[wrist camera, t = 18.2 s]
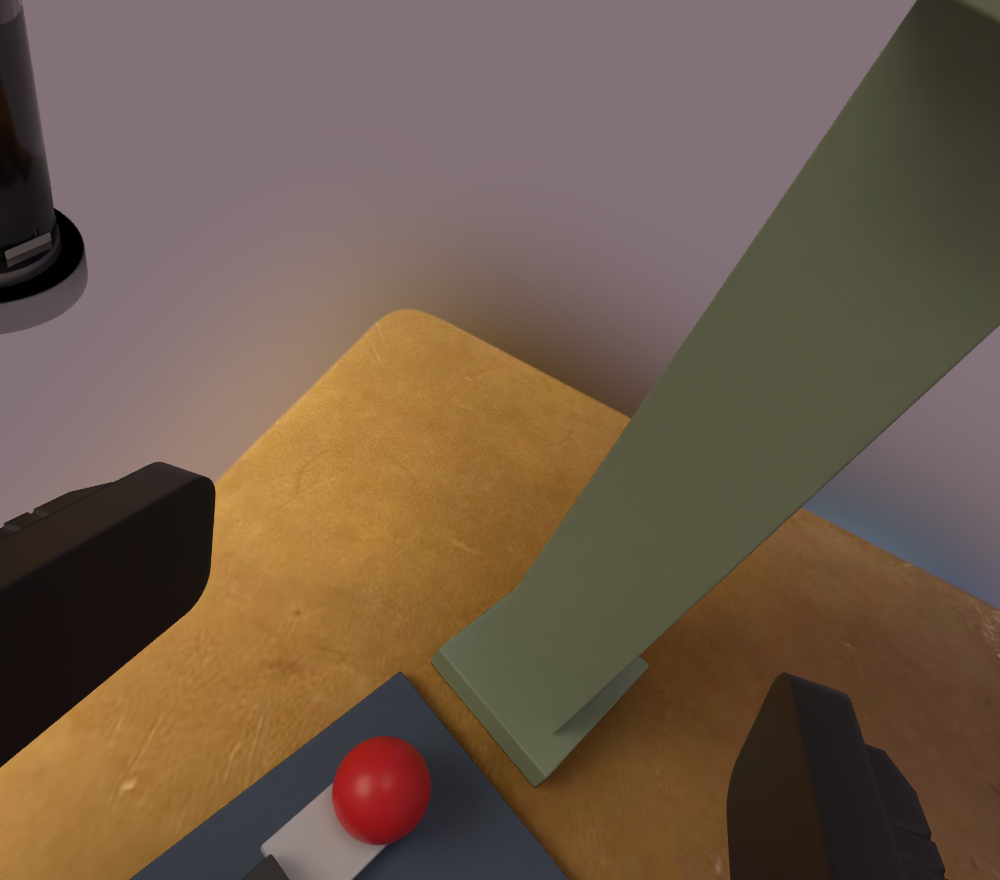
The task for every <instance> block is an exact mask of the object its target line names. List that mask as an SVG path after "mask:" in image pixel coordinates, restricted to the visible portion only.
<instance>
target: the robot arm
mask: <svg viewBox="0 0 1000 880" xmlns="http://www.w3.org/2000/svg"><path fill="white" fill-rule="evenodd" d="M52 201H53V200H52V194H51V186H50V178H49V172H48V166H47V159H46V153H45V146H44V140H43V133H42V127H41V121H40V114H39V108H38V102H37V95H36V89H35V82H34V75H33V69H32V62H31V56H30V50H29V44H28V37H27V30H26V24H25V18H24V11H23V5H22V0H0V288H2V287H7V286H11V285H15V284H18V283H22V282H24V281H27V280H30V279H32V278H34V277H36V276H38V275H39V274H41V273H43V272H44V271H45V270H47V269H48V268H49V267H50V266H51V265H52V264H53V263H54V262H55V261H56V259H57V258H58V256H59V253H60V250H61V240H60V233H59V227H58V224H57V221H56V216H55V213H54V208H53V202H52ZM214 511H215V487H214V484H213V482H212V480H210V479H209V478H207V477H204V476H201V475H199V474H196V473H193V472H190V471H187V470H184V469H181V468H178V467H175V466H172V465H169V464H166V463H163V462H155V463H152V464H150V465H147V466H145V467H143V468H142V469H140V470H138V471H135V472H133V473H131V474H129V475H127V476H125V477H123V478H121V479H120V480H118V481H115V482H111V483H106V484H102V485H98V486H94V487H89V488H85V489H80V490H76V491H72V492H69V493H66V494H64V495H62V496H60V497H58V498H56V499H54V500H52V501H50V502H48V503H45V504H43V505H41V506H39V507H37V508H35V509H34V511H33V513H32V514H30V513H28V512H27V513H24V514H22V515H20V516H18V517H16V518H14V519H12V520H10V521H8V522H6V523H4V526H3V527H2V528H0V767H2V766H3V765H4V764H5V763H6V762H8V761H9V760H10V759H11V758H12V757H14V756H15V755H16V754H17V753H19V752H20V751H21V750H22V749H23V748H25V747H26V746H27V745H28V744H29V743H31V742H32V741H33V740H34V739H35V738H37V737H38V736H39V735H40V734H41V733H43V732H44V731H45V730H46V729H48V728H49V727H50V726H51V725H52V724H54V723H55V722H56V721H57V720H58V719H60V718H61V717H62V716H63V715H64V714H66V713H67V712H68V711H69V710H70V709H72V708H73V707H74V706H75V705H77V704H78V703H79V702H80V701H81V700H83V699H84V698H85V697H86V696H87V695H89V694H90V693H91V692H92V691H93V690H95V689H96V688H97V687H98V686H99V685H101V684H102V683H103V682H104V681H106V680H107V679H108V678H109V677H110V676H112V675H113V674H114V673H115V672H116V671H118V670H119V669H120V668H121V667H122V666H124V665H125V664H126V663H127V662H128V661H130V660H131V659H132V658H133V657H135V656H136V655H137V654H138V653H139V652H141V651H142V650H143V649H144V648H145V647H147V646H148V645H149V644H150V643H151V642H153V641H154V640H155V639H156V638H157V637H159V636H160V635H161V634H162V633H164V632H165V631H166V630H167V629H168V628H170V627H171V626H172V625H173V624H174V623H176V622H177V621H178V620H179V619H180V618H182V617H183V616H184V615H185V614H186V613H188V612H189V611H190V610H191V609H192V608H193V606H194V605H195V604H196V603H197V601H198V600H199V598H200V597H201V595H202V593H203V591H204V589H205V587H206V584H207V582H208V579H209V574H210V568H211V554H212V540H213V525H214ZM727 829H728V846H729V862H730V879H731V880H948V879H945V877H944V873H945V868H944V865H943V863H942V860H941V857H940V855H939V852H938V849H937V847H936V844H935V842H932V841H931V839H930V838H931V831H930V828H929V826H928V823H927V820H926V818H925V815H924V813H923V810H922V807H921V805H920V802H919V799H918V797H917V794H916V792H915V790H914V789H913V788H912V786H911V785H910V784H909V783H908V781H907V780H906V779H905V777H904V776H903V775H902V773H901V772H900V771H899V769H898V768H897V767H896V766H895V764H894V763H893V762H892V760H891V759H890V758H889V756H888V755H887V754H886V752H885V751H883V750H881V749H878V748H875V747H872V746H869V745H866V744H865V743H864V740H863V737H862V734H861V731H860V728H859V724H858V721H857V718H856V715H855V712H854V709H853V706H852V703H851V700H850V698H849V697H848V695H847V694H846V693H844V692H841V691H838V690H835V689H832V688H829V687H826V686H823V685H820V684H817V683H814V682H811V681H808V680H806V679H803V678H800V677H797V676H794V675H791V674H788V673H781V674H780V675H778V677H777V678H776V679H775V681H774V682H773V684H772V686H771V688H770V690H769V692H768V694H767V696H766V698H765V701H764V703H763V705H762V707H761V709H760V711H759V713H758V715H757V718H756V720H755V722H754V724H753V726H752V728H751V730H750V732H749V735H748V737H747V739H746V741H745V743H744V745H743V747H742V749H741V751H740V754H739V756H738V758H737V760H736V763H735V765H734V768H733V772H732V775H731V779H730V784H729V789H728V796H727Z"/></svg>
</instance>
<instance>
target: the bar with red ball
mask: <svg viewBox="0 0 1000 880" xmlns="http://www.w3.org/2000/svg"><path fill="white" fill-rule="evenodd" d="M430 795H431V778H430V773H429V769H428V767H427V764H426V762H425V760H424V758H423V756H422V755H421V754H420V752H419V751H418V750H417V749H416V748H415V747H414V746H413V745H411V744H410V743H408V742H407V741H405V740H403V739H400V738H397V737H392V736H378V737H373V738H370V739H368V740H365V741H363V742H362V743H360V744H358V745H357V746H355V747H354V748H353V749H352V750H351V751H350V752H349V753H348V754H347V755H346V756H345V758H344V759H343V760H342V762H341V764H340V765H339V767H338V770H337V772H336V775H335V778H334V782H333V783H332V784H331V785H330V786H329V787H328V788H326V789H325V790H324V791H323V792H322V793H321V794H320V795H318V796H317V797H316V798H315V799H314V800H313V801H312V802H310V803H309V804H308V805H307V806H306V807H305V808H304V809H302V810H301V811H300V812H299V813H298V814H297V815H296V816H294V817H293V818H292V819H291V820H290V821H289V822H288V823H287V824H285V825H284V826H283V827H282V828H281V829H280V830H279V831H277V832H276V833H275V834H274V835H273V836H272V837H271V838H269V839H268V840H267V841H266V842H265V843H264V844H263V845H262V846H261V852H262V853H263V855H264V856H265V857H266V858H265V859H264V860H263V861H262V862H260V863H259V864H258V865H257V866H256V867H255V868H254V869H253V870H251V871H250V872H249V873H248V874H247V875H246V876H245V877H244V878H243V879H241V880H353V879H354V878H355V877H356V876H357V875H358V874H359V873H360V872H361V871H362V870H363V869H364V868H365V867H366V866H367V865H368V864H369V863H370V862H371V861H372V860H373V859H374V858H375V857H376V856H377V855H378V854H379V853H380V852H381V851H382V850H383V849H384V848H385V847H386V846H387V845H388V844H390V843H394V842H396V841H398V840H400V839H402V838H404V837H405V836H406V835H408V834H409V833H410V832H411V831H413V830H414V829H415V827H416V826H417V825H418V824H419V822H420V821H421V819H422V818H423V816H424V814H425V812H426V810H427V807H428V804H429V800H430Z"/></svg>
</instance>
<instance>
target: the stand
mask: <svg viewBox="0 0 1000 880" xmlns="http://www.w3.org/2000/svg"><path fill="white" fill-rule="evenodd" d="M999 325H1000V0H917V1H916V3H915V4H914V5H913V7H912V8H911V10H910V11H909V13H908V14H907V15H906V17H905V18H904V20H903V21H902V23H901V24H900V26H899V27H898V29H897V30H896V32H895V33H894V35H893V36H892V37H891V39H890V41H889V42H888V43H887V45H886V46H885V48H884V49H883V51H882V52H881V54H880V55H879V57H878V58H877V60H876V61H875V62H874V64H873V66H872V67H871V69H870V70H869V71H868V73H867V74H866V76H865V77H864V79H863V80H862V82H861V83H860V84H859V86H858V87H857V89H856V90H855V92H854V93H853V95H852V96H851V98H850V99H849V101H848V102H847V104H846V105H845V106H844V108H843V109H842V111H841V112H840V114H839V115H838V117H837V118H836V120H835V121H834V123H833V124H832V126H831V127H830V129H829V130H828V131H827V133H826V134H825V136H824V137H823V139H822V140H821V142H820V143H819V145H818V146H817V148H816V149H815V150H814V152H813V153H812V155H811V156H810V158H809V159H808V161H807V162H806V164H805V165H804V167H803V168H802V170H801V171H800V173H799V174H798V175H797V177H796V178H795V180H794V181H793V183H792V184H791V186H790V187H789V189H788V190H787V192H786V193H785V195H784V196H783V198H782V199H781V200H780V202H779V203H778V205H777V206H776V208H775V209H774V211H773V212H772V214H771V215H770V217H769V218H768V219H767V221H766V222H765V224H764V226H763V227H762V228H761V230H760V231H759V233H758V234H757V236H756V237H755V239H754V240H753V242H752V243H751V245H750V246H749V247H748V249H747V250H746V252H745V253H744V255H743V256H742V258H741V259H740V261H739V262H738V264H737V265H736V266H735V268H734V269H733V271H732V272H731V274H730V276H729V277H728V278H727V280H726V281H725V283H724V284H723V286H722V287H721V289H720V290H719V291H718V293H717V294H716V296H715V298H714V299H713V300H712V302H711V303H710V305H709V306H708V308H707V309H706V310H705V312H704V314H703V315H702V316H701V318H700V319H699V321H698V322H697V324H696V325H695V327H694V328H693V330H692V331H691V333H690V334H689V335H688V337H687V338H686V340H685V342H684V343H683V344H682V346H681V347H680V349H679V350H678V352H677V353H676V355H675V356H674V357H673V359H672V360H671V362H670V363H669V365H668V367H667V368H666V369H665V371H664V372H663V374H662V375H661V377H660V378H659V379H658V381H657V382H656V384H655V385H654V387H653V388H652V390H651V391H650V393H649V394H648V396H647V397H646V399H645V400H644V401H643V403H642V405H641V406H640V407H639V409H638V410H637V412H636V413H635V415H634V416H633V418H632V419H631V421H630V422H629V424H628V425H627V426H626V428H625V429H624V431H623V432H622V434H621V435H620V437H619V438H618V440H617V441H616V443H615V444H614V446H613V447H612V448H611V450H610V451H609V453H608V454H607V456H606V457H605V459H604V460H603V462H602V463H601V465H600V466H599V468H598V469H597V470H596V472H595V473H594V475H593V476H592V478H591V479H590V481H589V482H588V484H587V485H586V487H585V488H584V490H583V491H582V493H581V494H580V495H579V497H578V498H577V500H576V501H575V503H574V504H573V506H572V507H571V509H570V510H569V512H568V513H567V515H566V516H565V517H564V519H563V520H562V522H561V523H560V525H559V526H558V528H557V529H556V531H555V532H554V534H553V535H552V537H551V538H550V539H549V541H548V542H547V544H546V545H545V547H544V548H543V550H542V551H541V553H540V554H539V556H538V557H537V559H536V560H535V561H534V563H533V564H532V566H531V567H530V569H529V570H528V572H527V573H526V575H525V576H524V578H523V579H522V581H521V582H520V584H519V585H518V586H517V588H515V589H514V590H513V591H511V592H510V593H509V594H508V595H506V596H505V597H504V598H502V599H501V600H500V601H499V602H497V603H496V604H495V605H493V606H492V607H491V608H490V609H488V610H487V611H486V612H484V613H483V614H482V615H481V616H479V617H478V618H477V619H475V620H474V621H473V622H472V623H470V624H469V625H468V626H466V627H465V628H464V629H463V630H461V631H460V632H459V633H457V634H456V635H455V636H454V637H452V638H451V639H450V640H448V641H447V642H446V643H445V644H443V645H442V646H441V647H439V648H438V650H437V652H436V653H435V655H434V657H433V659H432V660H431V663H432V665H433V666H434V667H435V668H436V670H437V671H438V672H439V673H440V674H441V676H442V677H443V678H444V679H445V680H446V682H447V683H448V684H449V685H450V686H451V688H452V689H453V690H454V691H455V692H456V694H457V695H458V696H459V697H460V699H461V700H462V701H463V702H464V703H465V705H466V706H467V707H468V708H469V709H470V711H471V712H472V713H473V714H474V715H475V717H476V718H477V719H478V720H479V721H480V723H481V724H482V725H483V726H484V728H485V729H486V730H487V731H488V732H489V734H490V735H491V736H492V737H493V738H494V740H495V741H496V742H497V743H498V744H499V746H500V747H501V748H502V749H503V750H504V752H505V753H506V754H507V755H508V757H509V758H510V759H511V760H512V761H513V763H514V764H515V765H516V766H517V767H518V769H519V770H520V771H521V772H522V773H523V775H524V776H525V777H526V778H527V779H528V781H529V782H530V783H531V784H532V785H533V787H537V786H538V785H539V784H540V783H542V782H543V781H544V780H545V779H547V778H548V777H549V776H550V774H551V773H552V772H553V771H554V770H555V769H556V768H557V767H558V766H559V765H560V763H561V762H562V761H563V760H564V759H565V758H566V757H567V756H568V755H569V754H570V753H571V751H572V750H573V749H574V748H575V747H576V746H577V745H578V744H579V743H580V742H581V740H582V739H583V738H584V737H585V736H586V735H587V734H588V733H589V732H590V731H591V730H592V728H593V727H594V726H595V725H596V724H597V723H598V722H599V721H600V720H601V719H602V717H603V716H604V715H605V714H606V713H607V712H608V711H609V710H610V709H611V708H612V707H613V705H614V704H615V703H616V702H617V701H618V700H619V699H620V698H621V697H622V696H623V694H624V693H625V692H626V691H627V690H628V689H629V688H630V687H631V686H632V685H633V684H634V682H635V681H636V680H637V679H638V678H639V677H640V676H641V675H642V674H643V673H644V671H645V670H646V669H647V668H648V667H649V665H648V664H647V663H646V662H645V661H644V660H643V659H642V658H641V657H640V655H641V654H642V653H643V652H644V651H645V650H646V649H647V648H648V647H649V646H651V645H652V644H653V643H654V642H655V641H656V640H657V639H658V638H659V637H660V636H661V635H663V634H664V633H665V632H666V631H667V630H668V629H669V628H670V627H671V626H672V625H673V624H675V623H676V622H677V621H678V620H679V619H680V618H681V617H682V616H683V615H684V614H685V613H686V612H688V611H689V610H690V609H691V608H692V607H693V606H694V605H695V604H696V603H697V602H698V601H700V600H701V599H702V598H703V597H704V596H705V595H706V594H707V593H708V592H709V591H710V590H712V589H713V588H714V587H715V586H716V585H717V584H718V583H719V582H720V581H721V580H722V579H724V578H725V577H726V576H727V575H728V574H729V573H730V572H731V571H732V570H733V569H734V568H736V567H737V566H738V565H739V564H740V563H741V562H742V561H743V560H744V559H745V558H746V557H747V556H749V555H750V554H751V553H752V552H753V551H754V550H755V549H756V548H757V547H758V546H759V545H761V544H762V543H763V542H764V541H765V540H766V539H767V538H768V537H769V536H770V535H771V534H773V533H774V532H775V531H776V530H777V529H778V528H779V527H780V526H781V525H782V524H783V523H785V522H786V521H787V520H788V519H789V518H790V517H791V516H792V515H793V514H794V513H795V512H797V511H798V510H799V509H800V508H801V507H802V506H803V505H804V504H805V503H806V502H807V501H808V500H810V499H811V498H812V497H813V496H814V495H815V494H816V493H817V492H818V491H819V490H820V489H821V488H822V487H824V486H825V485H826V484H827V483H828V482H829V481H830V480H831V479H832V478H834V477H835V476H836V475H837V474H838V473H839V472H840V471H841V470H842V469H843V468H844V467H846V466H847V465H848V464H849V463H850V462H851V461H852V460H853V459H854V458H855V457H856V456H857V455H859V453H861V452H862V451H863V450H864V449H865V448H866V447H867V446H868V445H869V444H871V443H872V442H873V441H874V440H875V439H876V438H877V437H878V436H879V435H880V434H881V433H882V432H884V431H885V430H886V429H887V428H888V427H889V426H890V425H891V424H892V423H893V422H895V421H896V420H897V419H898V418H899V417H900V416H901V415H902V414H903V413H904V412H905V411H906V410H908V409H909V408H910V407H911V406H912V405H913V404H914V403H915V402H916V401H917V400H918V399H920V398H921V397H922V396H923V395H924V394H925V393H926V392H927V391H928V390H929V389H930V388H932V387H933V386H934V385H935V384H936V383H937V382H938V381H939V380H940V379H941V378H942V377H944V376H945V375H946V374H947V373H948V372H949V371H950V370H951V369H952V368H953V367H954V366H956V365H957V364H958V363H959V362H960V361H961V360H962V359H963V358H964V357H965V356H966V355H968V353H970V352H971V351H972V350H973V349H974V348H975V347H976V346H977V345H978V344H979V343H981V342H982V341H983V340H984V339H985V338H986V337H987V336H988V335H989V334H990V333H991V332H993V330H995V329H996V328H997V327H998V326H999Z"/></svg>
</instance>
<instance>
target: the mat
mask: <svg viewBox="0 0 1000 880" xmlns="http://www.w3.org/2000/svg"><path fill="white" fill-rule="evenodd" d="M378 736H392V737H397V738H400V739H403V740H405V741H407V742H408V743H410V744H411V745H413V746H414V747H415V748H416V749H417V750H418V751H419V752H420V754H421V755H422V756H423V758H424V760H425V762H426V764H427V767H428V769H429V773H430V778H431V795H430V800H429V804H428V807H427V810H426V812H425V814H424V816H423V818H422V819H421V821H420V822H419V824H418V825H417V826H416V827H415V829H414V830H413V831H411V832H410V833H409V834H408V835H406V836H405V837H404V838H402V839H400V840H398V841H396V842H394V843H390V844H388V845H387V846H386V847H385V848H384V849H383V850H382V851H381V852H380V853H379V854H378V855H377V856H376V857H375V858H374V859H373V860H372V861H371V862H370V863H369V864H368V865H367V866H366V867H365V868H364V869H363V870H362V871H361V872H360V873H359V874H358V875H357V876H356V877H355V878H354V879H353V880H569V879H568V878H567V877H566V875H565V874H564V873H563V872H562V870H561V869H560V868H559V867H558V865H557V864H556V863H555V862H554V861H553V859H552V858H551V857H550V856H549V854H548V853H547V852H546V851H545V849H544V848H543V847H542V846H541V844H540V843H539V842H538V841H537V839H536V838H535V837H534V836H533V834H532V833H531V832H530V831H529V830H528V828H527V827H526V826H525V825H524V823H523V822H522V821H521V820H520V818H519V817H518V816H517V815H516V813H515V812H514V811H513V810H512V808H511V807H510V806H509V805H508V803H507V802H506V801H505V800H504V799H503V797H502V796H501V795H500V794H499V792H498V791H497V790H496V789H495V787H494V786H493V785H492V784H491V782H490V781H489V780H488V779H487V777H486V776H485V775H484V774H483V772H482V771H481V770H480V769H479V768H478V766H477V765H476V764H475V763H474V761H473V760H472V759H471V758H470V756H469V755H468V754H467V753H466V751H465V750H464V749H463V748H462V746H461V745H460V744H459V743H458V741H457V740H456V739H455V738H454V737H453V735H452V734H451V733H450V732H449V730H448V729H447V728H446V727H445V725H444V724H443V723H442V722H441V720H440V719H439V718H438V717H437V715H436V714H435V713H434V712H433V710H432V709H431V708H430V707H429V706H428V704H427V703H426V702H425V701H424V699H423V698H422V697H421V696H420V694H419V693H418V692H417V691H416V689H415V688H414V687H413V686H412V684H411V683H410V682H409V681H408V679H407V678H406V677H405V676H404V675H403V673H402V672H401V671H400V672H399V673H397V674H396V675H395V676H393V677H392V678H391V679H389V680H388V681H387V682H386V683H384V684H383V685H382V686H380V687H379V688H378V689H376V690H375V691H374V692H373V693H371V694H370V695H369V696H367V697H366V698H365V699H363V700H362V701H361V702H360V703H358V704H357V705H356V706H354V707H353V708H352V709H350V710H349V711H348V712H347V713H345V714H344V715H343V716H341V717H340V718H339V719H337V720H336V721H335V722H334V723H332V724H331V725H330V726H328V727H327V728H326V729H324V730H323V731H322V732H321V733H319V734H318V735H317V736H315V737H314V738H313V739H311V740H310V741H309V742H308V743H306V744H305V745H304V746H302V747H301V748H300V749H298V750H297V751H296V752H295V753H293V754H292V755H291V756H289V757H288V758H287V759H285V760H284V761H283V762H282V763H280V764H279V765H278V766H276V767H275V768H274V769H272V770H271V771H270V772H269V773H267V774H266V775H265V776H263V777H262V778H261V779H259V780H258V781H257V782H256V783H254V784H253V785H252V786H250V787H249V788H248V789H246V790H245V791H244V792H243V793H241V794H240V795H239V796H237V797H236V798H235V799H233V800H232V801H231V802H230V803H228V804H227V805H226V806H224V807H223V808H222V809H220V810H219V811H218V812H217V813H215V814H214V815H213V816H211V817H210V818H209V819H207V820H206V821H205V822H203V823H202V824H201V825H200V826H198V827H197V828H196V829H194V830H193V831H192V832H190V833H189V834H188V835H187V836H185V837H184V838H183V839H181V840H180V841H179V842H177V843H176V844H175V845H174V846H172V847H171V848H170V849H168V850H167V851H166V852H164V853H163V854H162V855H161V856H159V857H158V858H157V859H155V860H154V861H153V862H151V863H150V864H149V865H148V866H146V867H145V868H144V869H142V870H141V871H140V872H138V873H137V874H136V875H135V876H133V877H132V878H131V879H129V880H241V879H243V878H244V877H245V876H246V875H247V874H248V873H249V872H250V871H251V870H253V869H254V868H255V867H256V866H257V865H258V864H259V863H260V862H262V861H263V860H264V859H265V858H266V857H265V856H264V855H263V853H262V852H261V846H262V845H263V844H264V843H265V842H266V841H267V840H268V839H269V838H271V837H272V836H273V835H274V834H275V833H276V832H277V831H279V830H280V829H281V828H282V827H283V826H284V825H285V824H287V823H288V822H289V821H290V820H291V819H292V818H293V817H294V816H296V815H297V814H298V813H299V812H300V811H301V810H302V809H304V808H305V807H306V806H307V805H308V804H309V803H310V802H312V801H313V800H314V799H315V798H316V797H317V796H318V795H320V794H321V793H322V792H323V791H324V790H325V789H326V788H328V787H329V786H330V785H331V784H332V783H333V782H334V778H335V775H336V772H337V770H338V767H339V765H340V764H341V762H342V760H343V759H344V758H345V756H346V755H347V754H348V753H349V752H350V751H351V750H352V749H353V748H354V747H355V746H357V745H358V744H360V743H362V742H363V741H365V740H368V739H370V738H373V737H378Z"/></svg>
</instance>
